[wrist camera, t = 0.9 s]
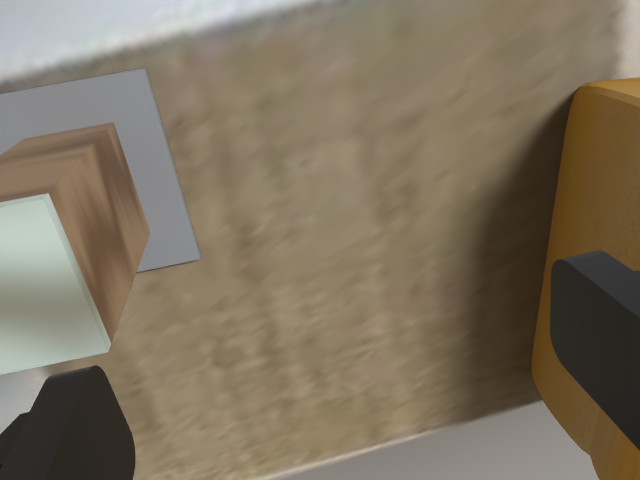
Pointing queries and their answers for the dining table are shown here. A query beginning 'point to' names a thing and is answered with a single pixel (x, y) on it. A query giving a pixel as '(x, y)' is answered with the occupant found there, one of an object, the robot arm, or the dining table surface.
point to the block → (65, 246)
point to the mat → (136, 140)
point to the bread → (591, 235)
